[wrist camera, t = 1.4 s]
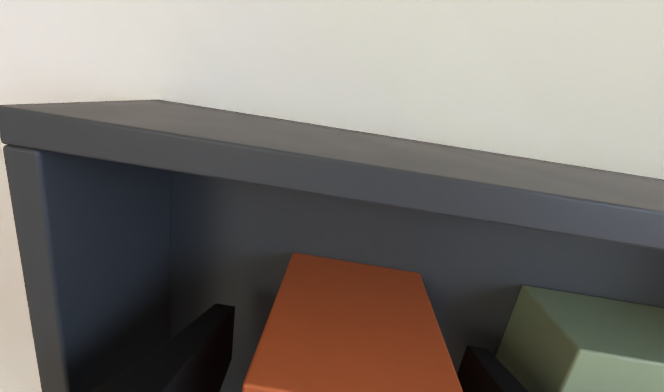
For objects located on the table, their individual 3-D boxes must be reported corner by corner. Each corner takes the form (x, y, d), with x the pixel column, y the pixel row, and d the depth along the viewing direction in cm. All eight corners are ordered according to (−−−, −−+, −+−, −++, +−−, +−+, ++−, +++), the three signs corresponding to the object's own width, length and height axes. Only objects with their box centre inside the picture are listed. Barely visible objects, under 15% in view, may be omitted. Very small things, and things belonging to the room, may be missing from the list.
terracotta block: (393, 372, 13) (421, 567, 7) (280, 353, 13) (229, 532, 7) (420, 272, 11) (476, 425, 6) (292, 251, 11) (241, 384, 6)
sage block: (606, 413, 12) (681, 508, 10) (480, 391, 13) (518, 479, 10) (664, 307, 11) (773, 382, 8) (521, 283, 11) (579, 350, 8)
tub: (625, 483, 14) (762, 681, 9) (161, 403, 14) (66, 556, 10) (800, 201, 10) (1191, 295, 5) (156, 99, 11) (-7, 104, 6)
